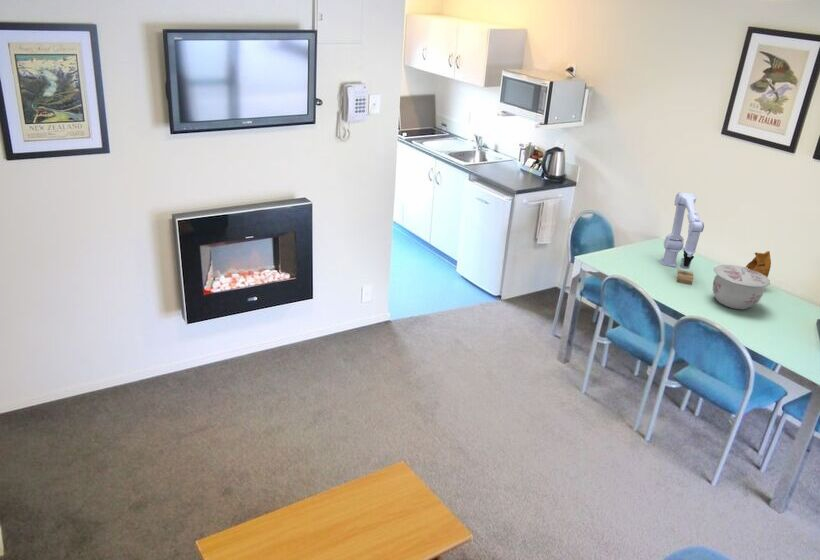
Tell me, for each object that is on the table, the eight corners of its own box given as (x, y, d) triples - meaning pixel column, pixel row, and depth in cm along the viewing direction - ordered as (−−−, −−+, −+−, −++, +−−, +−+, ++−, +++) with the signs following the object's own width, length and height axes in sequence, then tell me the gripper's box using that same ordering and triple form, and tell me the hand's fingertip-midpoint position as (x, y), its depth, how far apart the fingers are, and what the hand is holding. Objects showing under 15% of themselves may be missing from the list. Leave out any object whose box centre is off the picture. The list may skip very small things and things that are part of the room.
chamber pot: (728, 317, 340) (740, 280, 331) (694, 293, 364) (704, 258, 355) (773, 314, 348) (786, 278, 339) (737, 291, 371) (748, 257, 363)
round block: (680, 264, 379) (682, 257, 377) (689, 266, 378) (691, 259, 376) (679, 267, 375) (681, 260, 373) (688, 269, 373) (690, 262, 371)
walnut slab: (676, 277, 383) (677, 273, 382) (691, 280, 381) (692, 276, 380) (676, 282, 376) (677, 278, 375) (691, 285, 374) (692, 281, 373)
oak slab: (677, 273, 382) (678, 269, 381) (691, 276, 380) (693, 272, 379) (677, 278, 375) (678, 274, 374) (692, 281, 373) (693, 277, 372)
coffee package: (735, 285, 379) (747, 249, 370) (751, 283, 384) (763, 247, 375) (749, 292, 371) (761, 256, 362) (766, 290, 376) (778, 254, 366)
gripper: (684, 236, 377) (678, 258, 383) (684, 244, 365) (678, 267, 371) (697, 239, 375) (691, 261, 381) (697, 247, 363) (691, 270, 368)
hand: (685, 264), depth 376 cm, fingers closed on round block, 5 cm apart
